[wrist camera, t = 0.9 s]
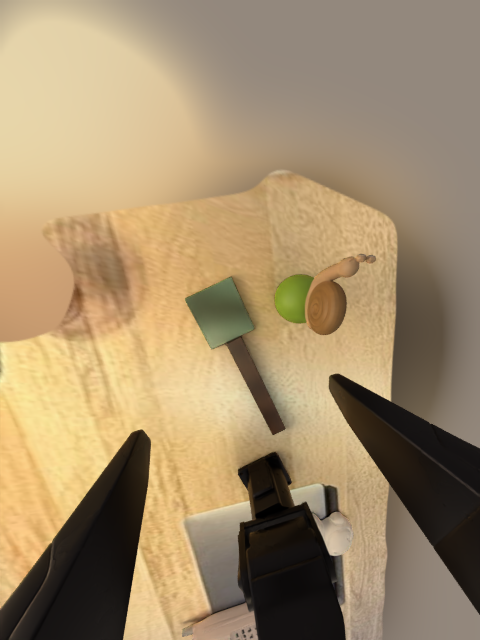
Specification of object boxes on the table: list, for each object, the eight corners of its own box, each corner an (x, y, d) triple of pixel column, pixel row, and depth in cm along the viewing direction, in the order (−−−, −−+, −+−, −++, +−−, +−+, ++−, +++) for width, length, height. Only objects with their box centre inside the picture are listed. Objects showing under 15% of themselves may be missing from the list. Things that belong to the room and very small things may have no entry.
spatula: (295, 416, 28) (298, 422, 27) (258, 435, 28) (260, 441, 27) (230, 276, 23) (231, 276, 22) (185, 298, 23) (183, 299, 21)
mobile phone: (337, 655, 31) (185, 712, 29) (318, 597, 37) (190, 641, 35) (333, 632, 30) (174, 690, 28) (314, 576, 36) (181, 621, 34)
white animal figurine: (288, 512, 31) (295, 536, 29) (353, 510, 33) (367, 532, 30) (279, 552, 33) (285, 578, 30) (342, 547, 35) (354, 572, 32)
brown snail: (315, 269, 24) (409, 257, 12) (307, 319, 25) (385, 353, 13) (272, 264, 23) (328, 248, 11) (267, 317, 24) (312, 350, 13)
